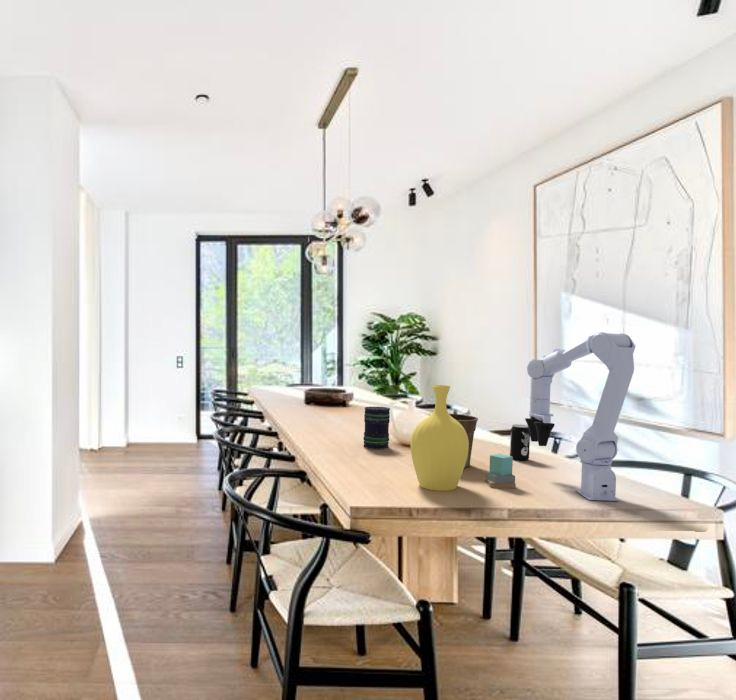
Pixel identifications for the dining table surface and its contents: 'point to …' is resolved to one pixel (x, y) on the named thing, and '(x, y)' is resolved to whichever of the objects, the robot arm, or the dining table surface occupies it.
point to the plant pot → (467, 430)
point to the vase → (439, 447)
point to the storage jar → (376, 427)
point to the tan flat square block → (499, 484)
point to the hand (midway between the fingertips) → (538, 443)
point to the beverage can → (520, 442)
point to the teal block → (501, 464)
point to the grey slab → (501, 478)
